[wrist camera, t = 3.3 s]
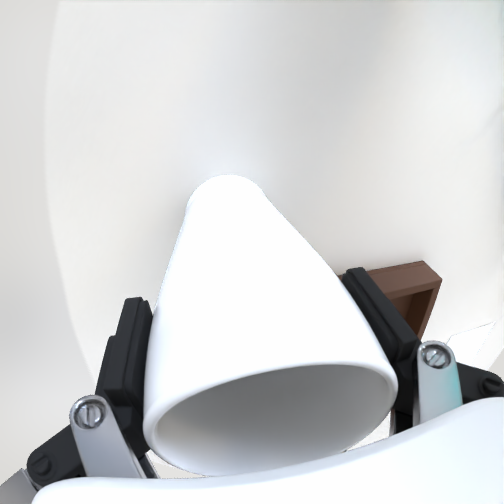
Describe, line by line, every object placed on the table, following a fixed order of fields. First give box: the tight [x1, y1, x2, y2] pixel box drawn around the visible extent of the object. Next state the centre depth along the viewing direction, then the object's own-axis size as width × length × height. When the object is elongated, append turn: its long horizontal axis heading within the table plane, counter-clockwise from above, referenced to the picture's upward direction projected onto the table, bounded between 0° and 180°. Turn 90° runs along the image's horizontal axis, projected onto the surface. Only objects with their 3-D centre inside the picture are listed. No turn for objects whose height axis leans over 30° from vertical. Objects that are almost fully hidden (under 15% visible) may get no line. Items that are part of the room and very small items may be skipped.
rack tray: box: [337, 261, 442, 341], centre depth 26 cm, size 16×16×3 cm
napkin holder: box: [447, 322, 495, 367], centre depth 33 cm, size 15×11×6 cm
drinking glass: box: [143, 175, 398, 477], centre depth 13 cm, size 7×7×15 cm
